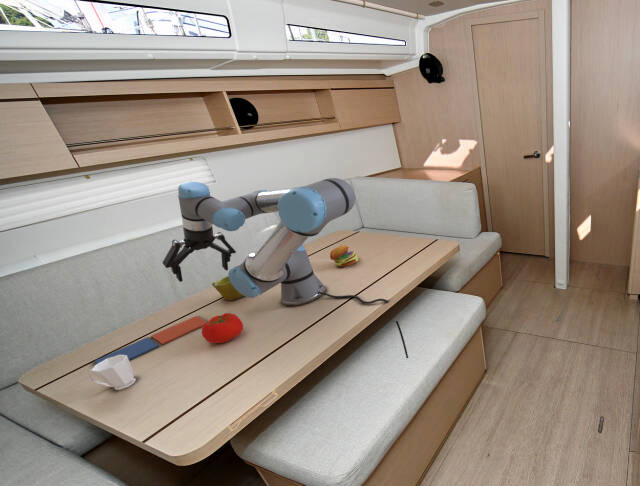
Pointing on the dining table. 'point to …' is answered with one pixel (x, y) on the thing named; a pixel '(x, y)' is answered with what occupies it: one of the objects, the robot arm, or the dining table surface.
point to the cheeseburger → (343, 256)
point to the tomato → (222, 328)
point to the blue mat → (133, 350)
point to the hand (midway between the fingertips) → (203, 273)
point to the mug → (227, 289)
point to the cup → (114, 372)
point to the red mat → (179, 330)
